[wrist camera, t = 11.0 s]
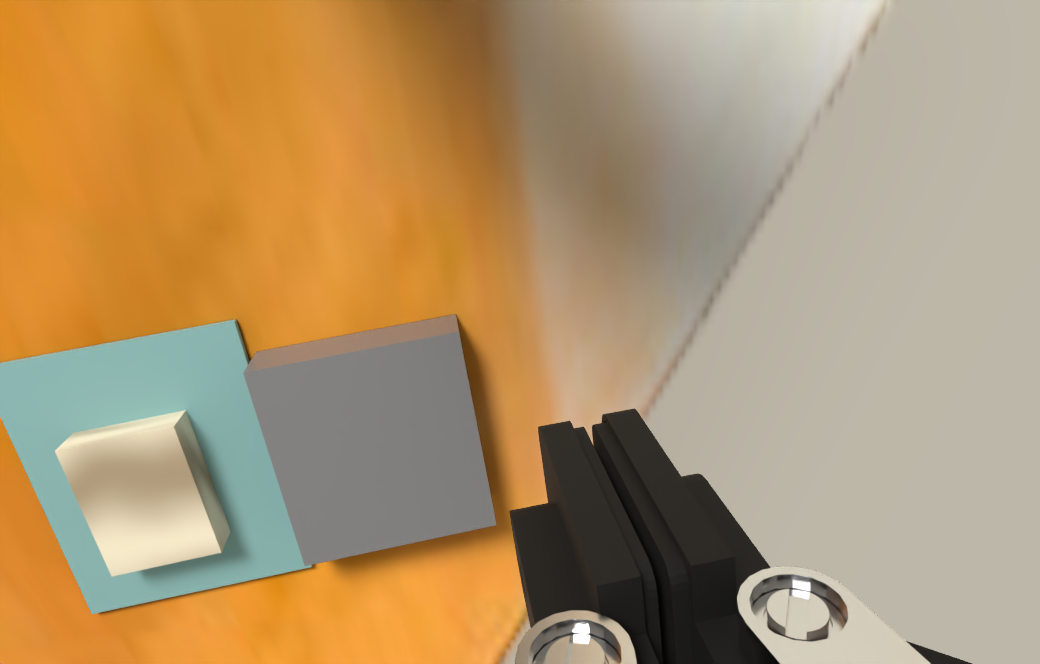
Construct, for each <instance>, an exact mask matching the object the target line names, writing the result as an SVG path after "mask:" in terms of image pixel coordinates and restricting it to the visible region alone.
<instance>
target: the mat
mask: <svg viewBox="0 0 1040 664" xmlns="http://www.w3.org/2000/svg"><path fill="white" fill-rule="evenodd" d="M249 363H250V361H249V358H248V355H247V352H246V349H245V345H244V342H243V339H242V336H241V333H240V330H239V326H238V323H237V320H236V319H235V320H229V321H224V322H219V323H213V324H208V325H202V326H197V327H192V328H186V329H181V330H175V331H170V332H164V333H159V334H154V335H148V336H143V337H137V338H132V339H127V340H121V341H116V342H110V343H105V344H99V345H94V346H89V347H83V348H78V349H72V350H67V351H62V352H56V353H51V354H45V355H40V356H35V357H29V358H24V359H18V360H13V361H7V362H2V363H0V417H1V419H2V421H3V423H4V426H5V428H6V430H7V432H8V434H9V436H10V439H11V441H12V443H13V445H14V447H15V449H16V451H17V454H18V456H19V458H20V460H21V462H22V464H23V467H24V469H25V471H26V473H27V475H28V477H29V480H30V482H31V484H32V486H33V488H34V490H35V492H36V495H37V497H38V499H39V501H40V503H41V505H42V508H43V510H44V512H45V514H46V516H47V518H48V520H49V523H50V525H51V527H52V529H53V531H54V533H55V536H56V538H57V540H58V542H59V544H60V546H61V549H62V551H63V553H64V555H65V557H66V559H67V561H68V564H69V566H70V568H71V570H72V572H73V574H74V577H75V579H76V581H77V583H78V585H79V587H80V589H81V592H82V594H83V596H84V598H85V600H86V602H87V605H88V607H89V609H90V611H91V613H92V614H95V613H100V612H104V611H109V610H114V609H118V608H123V607H128V606H132V605H137V604H142V603H146V602H151V601H156V600H160V599H165V598H170V597H174V596H179V595H184V594H188V593H193V592H198V591H202V590H207V589H212V588H216V587H221V586H226V585H230V584H235V583H240V582H244V581H249V580H254V579H258V578H263V577H268V576H272V575H277V574H282V573H286V572H291V571H296V570H300V569H305V568H310V567H312V565H308V566H305V565H304V562H303V559H302V556H301V553H300V550H299V547H298V544H297V540H296V537H295V534H294V531H293V528H292V525H291V522H290V518H289V515H288V512H287V509H286V506H285V503H284V500H283V497H282V493H281V490H280V487H279V484H278V481H277V478H276V475H275V471H274V468H273V465H272V462H271V459H270V456H269V453H268V450H267V446H266V443H265V440H264V437H263V434H262V431H261V428H260V424H259V421H258V418H257V415H256V412H255V409H254V406H253V403H252V399H251V396H250V393H249V390H248V387H247V384H246V381H245V377H244V374H243V372H244V370H245V369H246V367H247V366H248V364H249ZM184 410H186V412H187V414H188V417H189V420H190V422H191V425H192V428H193V430H194V433H195V436H196V439H197V441H198V444H199V447H200V449H201V452H202V455H203V458H204V460H205V463H206V466H207V468H208V471H209V474H210V477H211V479H212V482H213V485H214V487H215V490H216V493H217V495H218V498H219V501H220V504H221V506H222V509H223V512H224V514H225V517H226V520H227V523H228V525H229V528H230V531H231V532H230V534H229V536H228V539H227V541H226V543H225V546H224V548H223V550H222V553H218V554H213V555H208V556H204V557H199V558H195V559H190V560H186V561H181V562H176V563H172V564H167V565H163V566H158V567H153V568H149V569H144V570H140V571H135V572H131V573H126V574H121V575H117V576H111V574H110V572H109V570H108V567H107V565H106V563H105V561H104V559H103V556H102V554H101V552H100V550H99V548H98V545H97V543H96V541H95V539H94V537H93V534H92V532H91V530H90V528H89V526H88V523H87V521H86V519H85V517H84V515H83V512H82V510H81V508H80V506H79V504H78V501H77V499H76V497H75V495H74V493H73V490H72V488H71V486H70V484H69V482H68V479H67V477H66V475H65V473H64V471H63V468H62V466H61V464H60V462H59V460H58V457H57V455H56V453H55V450H56V449H57V448H58V447H59V446H60V445H61V444H62V443H63V442H64V441H66V440H67V439H68V438H69V437H70V436H71V435H72V434H73V433H76V432H81V431H86V430H91V429H96V428H101V427H105V426H110V425H115V424H120V423H125V422H130V421H135V420H140V419H145V418H150V417H155V416H160V415H165V414H170V413H175V412H179V411H184Z"/></svg>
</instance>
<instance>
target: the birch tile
mask: <svg viewBox="0 0 1040 664" xmlns="http://www.w3.org/2000/svg"><path fill="white" fill-rule="evenodd" d="M55 453H56V455H57V457H58V460H59V462H60V464H61V466H62V468H63V471H64V473H65V475H66V477H67V479H68V482H69V484H70V486H71V488H72V490H73V493H74V495H75V497H76V499H77V501H78V504H79V506H80V508H81V510H82V512H83V515H84V517H85V519H86V521H87V523H88V526H89V528H90V530H91V532H92V534H93V537H94V539H95V541H96V543H97V545H98V548H99V550H100V552H101V554H102V556H103V559H104V561H105V563H106V565H107V567H108V570H109V572H110V574H111V576H117V575H121V574H126V573H131V572H135V571H140V570H144V569H149V568H153V567H158V566H163V565H167V564H172V563H176V562H181V561H186V560H190V559H195V558H199V557H204V556H208V555H213V554H218V553H222V550H223V548H224V546H225V543H226V541H227V539H228V536H229V534H230V532H231V531H230V528H229V525H228V523H227V520H226V517H225V514H224V512H223V509H222V506H221V504H220V501H219V498H218V495H217V493H216V490H215V487H214V485H213V482H212V479H211V477H210V474H209V471H208V468H207V466H206V463H205V460H204V458H203V455H202V452H201V449H200V447H199V444H198V441H197V439H196V436H195V433H194V430H193V428H192V425H191V422H190V420H189V417H188V414H187V412H186V410H184V411H179V412H175V413H170V414H165V415H160V416H155V417H150V418H145V419H140V420H135V421H130V422H125V423H120V424H115V425H110V426H105V427H101V428H96V429H91V430H86V431H81V432H76V433H73V434H72V435H71V436H70V437H69V438H68V439H67V440H66V441H64V442H63V443H62V444H61V445H60V446H59V447H58V448H57V449H56V450H55Z"/></svg>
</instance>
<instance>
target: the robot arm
mask: <svg viewBox="0 0 1040 664" xmlns="http://www.w3.org/2000/svg"><path fill="white" fill-rule="evenodd" d="M538 432H539V441H540V448H541V455H542V462H543V469H544V476H545V483H546V490H547V497H548V503H547V504H542V505H536V506H531V507H526V508H521V509H516V510H511V511H510V518H511V524H512V531H513V537H514V543H515V549H516V554H517V560H518V566H519V571H520V577H521V582H522V587H523V593H524V598H525V602H526V607H527V612H528V617H529V622H530V626H531V629H529V630H528V631H527V632H526V634H525V635H524V637H523V638H522V640H521V642H520V643H519V645H518V649H517V653H516V658H515V664H972V663H968V662H965V661H963V660H960V659H957V658H954V657H951V656H948V655H945V654H942V653H939V652H937V651H933V650H930V649H928V648H925V647H922V646H919V645H916V644H913V643H910V642H907V641H905V640H904V639H903V638H902V637H901V636H900V635H898V634H897V633H896V632H895V631H894V630H893V629H892V628H891V627H889V626H888V625H887V624H886V623H885V622H884V621H883V620H882V619H881V618H880V617H878V616H877V615H876V614H875V613H874V612H873V611H872V610H871V609H869V608H868V607H867V606H866V605H865V604H864V603H863V602H862V601H861V600H860V599H858V598H857V597H856V596H855V595H854V594H853V593H852V592H851V591H850V590H848V589H847V588H846V587H845V586H843V585H842V584H840V583H839V582H837V581H836V580H835V579H833V578H831V577H829V576H827V575H824V574H822V573H819V572H817V571H815V570H810V569H805V568H801V567H793V566H778V567H773V568H770V566H769V565H768V563H767V562H766V561H765V559H764V558H763V557H762V555H761V554H760V553H759V551H758V550H757V548H756V547H755V546H754V544H753V543H752V542H751V540H750V539H749V537H748V536H747V535H746V533H745V532H744V531H743V529H742V528H741V527H740V525H739V524H738V522H737V521H736V520H735V518H734V517H733V516H732V514H731V513H730V512H729V510H728V509H727V507H726V506H725V505H724V503H723V502H722V501H721V499H720V498H719V496H718V495H717V494H716V492H715V491H714V490H713V488H712V487H711V486H710V484H709V483H708V481H707V480H706V479H705V478H704V477H703V476H702V475H701V474H693V475H688V476H683V477H681V476H680V474H679V473H678V471H677V470H676V468H675V467H674V465H673V464H672V462H671V461H670V459H669V458H668V456H667V455H666V453H665V452H664V451H663V449H662V448H661V446H660V445H659V443H658V441H657V440H656V439H655V437H654V436H653V434H652V433H651V431H650V430H649V428H648V427H647V425H646V424H645V422H644V421H643V419H642V418H641V416H640V415H639V413H638V412H637V411H636V410H635V409H630V410H624V411H619V412H614V413H609V414H603V416H602V423H601V424H595V425H593V426H592V434H593V444H594V446H593V444H592V442H591V440H590V438H589V436H588V434H587V432H586V430H585V428H584V427H580V428H573V426H572V423H571V422H570V421H566V422H561V423H556V424H550V425H545V426H540V427H538Z"/></svg>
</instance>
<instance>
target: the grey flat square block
mask: <svg viewBox="0 0 1040 664" xmlns="http://www.w3.org/2000/svg"><path fill="white" fill-rule="evenodd" d="M243 374H244V377H245V381H246V384H247V387H248V390H249V393H250V396H251V399H252V403H253V406H254V409H255V412H256V415H257V418H258V421H259V424H260V428H261V431H262V434H263V437H264V440H265V443H266V446H267V450H268V453H269V456H270V459H271V462H272V465H273V468H274V471H275V475H276V478H277V481H278V484H279V487H280V490H281V493H282V497H283V500H284V503H285V506H286V509H287V512H288V515H289V518H290V522H291V525H292V528H293V531H294V534H295V537H296V540H297V544H298V547H299V550H300V553H301V556H302V559H303V562H304V565H305V566H308V565H313V564H317V563H322V562H327V561H331V560H336V559H341V558H345V557H350V556H355V555H359V554H364V553H369V552H373V551H378V550H383V549H387V548H392V547H397V546H401V545H406V544H411V543H415V542H420V541H425V540H429V539H434V538H439V537H443V536H448V535H453V534H458V533H462V532H467V531H472V530H476V529H481V528H486V527H490V526H495V525H497V524H496V519H495V513H494V508H493V502H492V496H491V491H490V486H489V481H488V476H487V471H486V466H485V461H484V455H483V450H482V445H481V440H480V435H479V430H478V425H477V420H476V415H475V409H474V404H473V399H472V394H471V389H470V384H469V379H468V374H467V369H466V363H465V358H464V353H463V348H462V343H461V338H460V333H459V328H458V323H457V317H456V314H454V315H449V316H444V317H438V318H433V319H428V320H422V321H417V322H412V323H407V324H401V325H396V326H391V327H385V328H380V329H375V330H369V331H364V332H359V333H354V334H348V335H343V336H338V337H332V338H327V339H322V340H316V341H311V342H306V343H301V344H295V345H290V346H285V347H279V348H274V349H269V350H264V351H258V352H256V353H255V355H254V356H253V358H252V359H251V361H250V363H249V364H248V366H247V367H246V369H245V370H244V372H243Z"/></svg>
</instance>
